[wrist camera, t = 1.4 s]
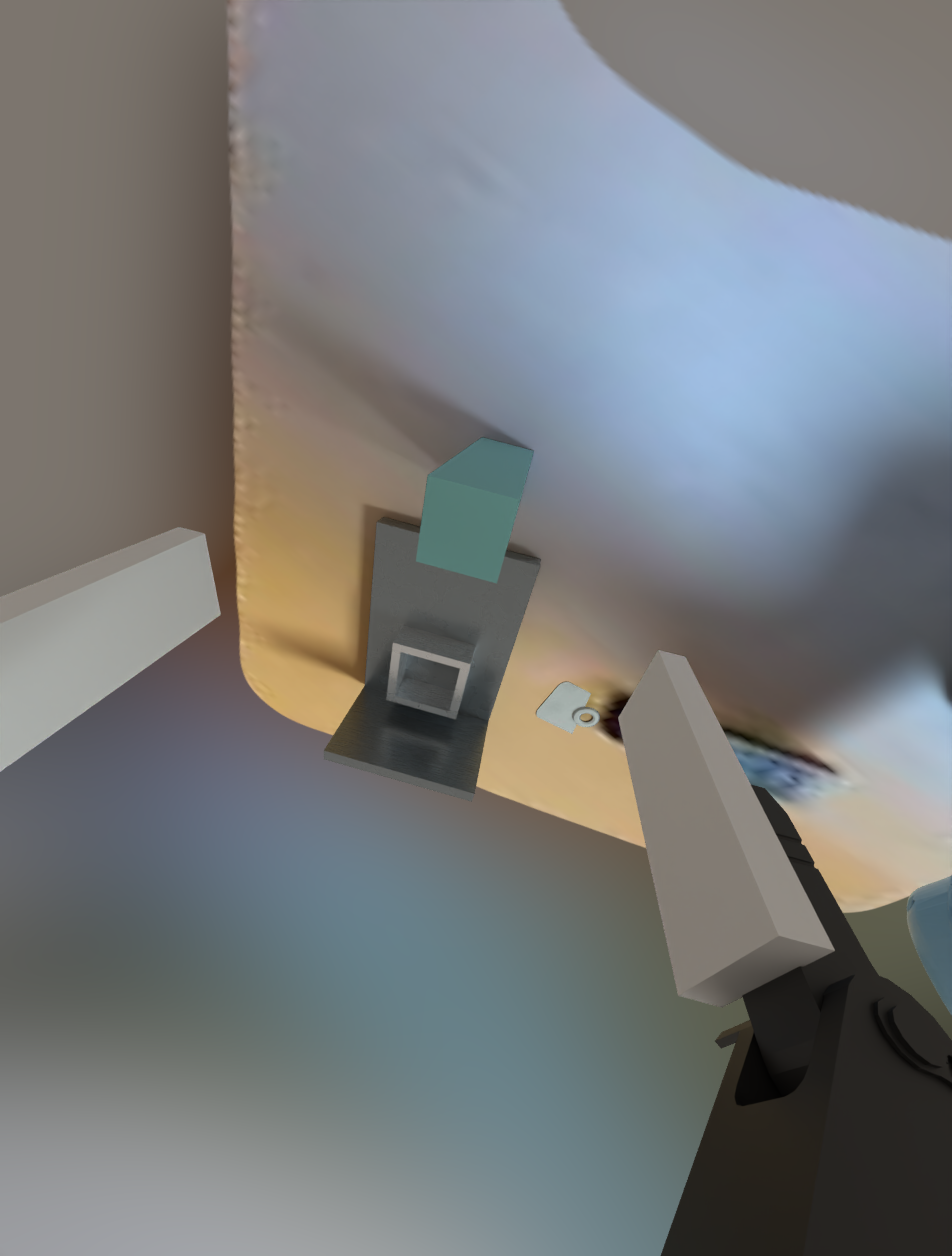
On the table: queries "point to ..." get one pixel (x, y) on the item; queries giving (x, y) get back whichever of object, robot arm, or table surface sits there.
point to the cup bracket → (431, 665)
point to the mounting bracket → (567, 708)
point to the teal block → (473, 508)
